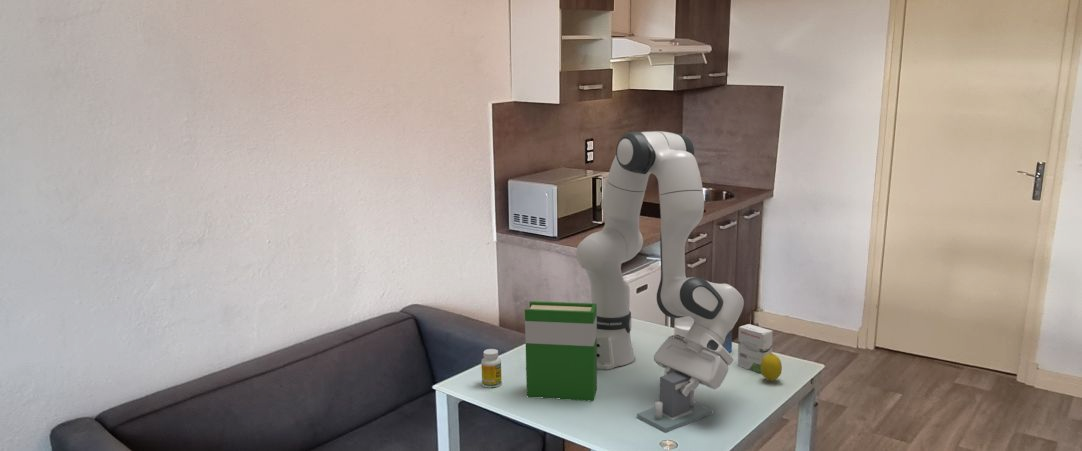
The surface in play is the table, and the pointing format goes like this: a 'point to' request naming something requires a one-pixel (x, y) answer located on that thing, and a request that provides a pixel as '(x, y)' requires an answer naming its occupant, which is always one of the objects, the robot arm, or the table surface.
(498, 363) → the supplement bottle
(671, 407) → the block
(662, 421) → the tray
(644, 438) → the table surface
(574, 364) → the hardback book
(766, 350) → the ink box
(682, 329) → the base with upright slab
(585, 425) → the table surface
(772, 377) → the lemon
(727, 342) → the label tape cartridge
